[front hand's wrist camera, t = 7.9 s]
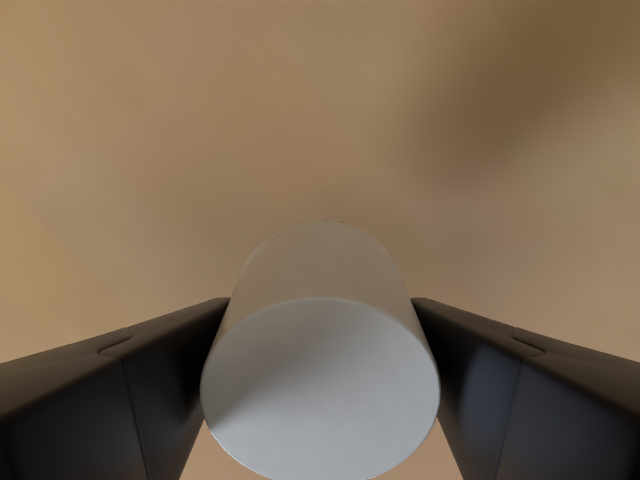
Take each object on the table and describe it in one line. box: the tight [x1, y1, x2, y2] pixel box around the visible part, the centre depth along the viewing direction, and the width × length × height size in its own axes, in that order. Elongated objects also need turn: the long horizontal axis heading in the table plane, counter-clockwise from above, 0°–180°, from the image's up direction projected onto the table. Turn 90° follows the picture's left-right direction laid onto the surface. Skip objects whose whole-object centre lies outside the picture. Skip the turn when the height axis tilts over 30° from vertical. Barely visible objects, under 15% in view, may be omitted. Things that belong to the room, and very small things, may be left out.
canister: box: [200, 220, 441, 480], centre depth 10 cm, size 5×5×4 cm
